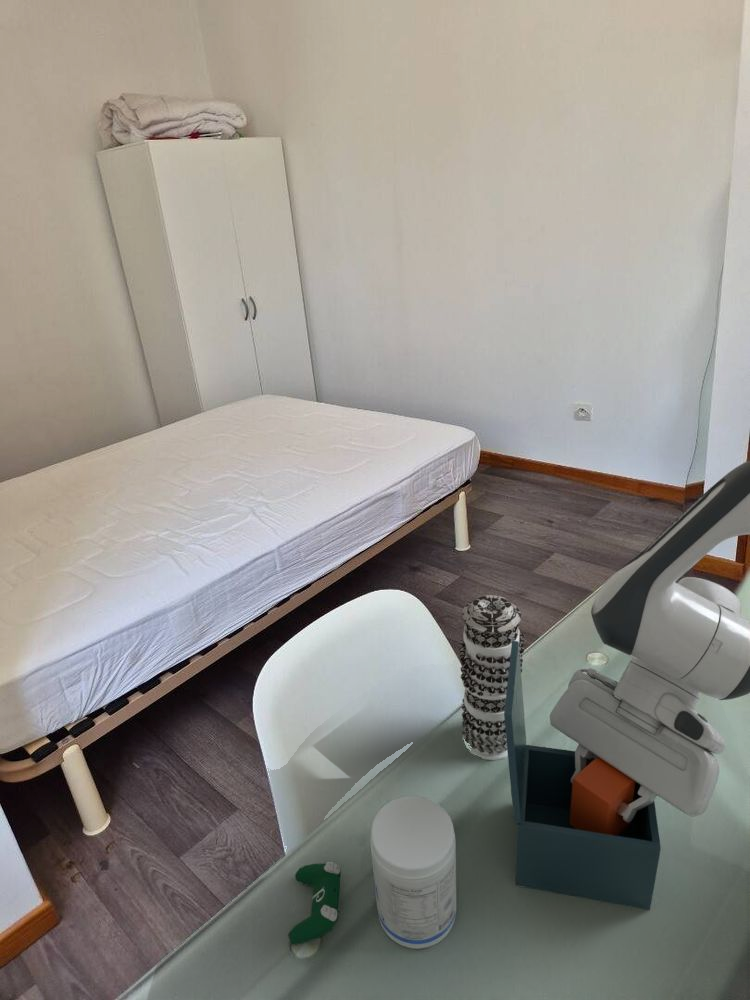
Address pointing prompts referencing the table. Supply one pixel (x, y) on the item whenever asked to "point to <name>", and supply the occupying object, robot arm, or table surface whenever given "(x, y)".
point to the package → (600, 798)
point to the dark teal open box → (580, 840)
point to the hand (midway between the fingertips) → (599, 802)
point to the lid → (515, 731)
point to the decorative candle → (487, 672)
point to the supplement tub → (414, 871)
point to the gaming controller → (318, 901)
